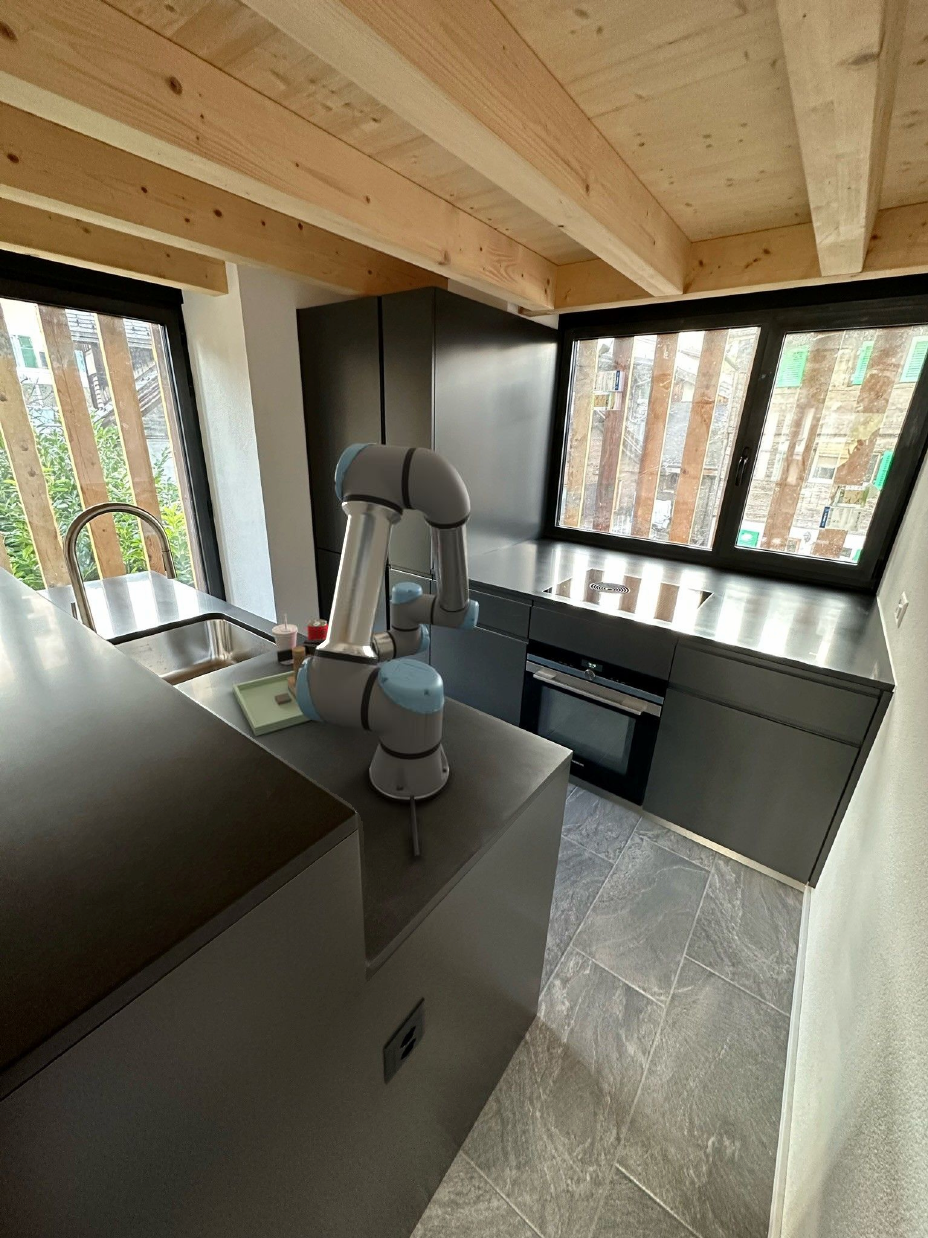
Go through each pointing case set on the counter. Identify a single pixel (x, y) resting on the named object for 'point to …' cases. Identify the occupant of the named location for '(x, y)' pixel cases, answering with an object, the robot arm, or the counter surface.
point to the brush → (296, 668)
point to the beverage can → (317, 630)
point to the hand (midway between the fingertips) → (286, 669)
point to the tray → (268, 703)
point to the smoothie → (285, 637)
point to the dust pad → (282, 698)
